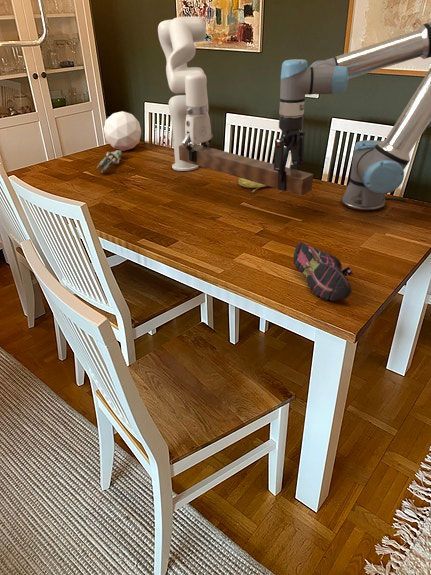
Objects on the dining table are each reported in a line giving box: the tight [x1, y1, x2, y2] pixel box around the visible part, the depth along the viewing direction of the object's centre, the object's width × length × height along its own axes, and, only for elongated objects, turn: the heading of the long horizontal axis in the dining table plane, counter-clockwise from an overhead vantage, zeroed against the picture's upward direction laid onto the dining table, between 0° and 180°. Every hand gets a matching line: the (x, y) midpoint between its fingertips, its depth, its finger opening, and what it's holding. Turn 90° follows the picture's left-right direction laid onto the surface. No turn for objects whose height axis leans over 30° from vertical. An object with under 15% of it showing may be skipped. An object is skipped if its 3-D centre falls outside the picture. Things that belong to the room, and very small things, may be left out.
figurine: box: [96, 149, 123, 174], centre depth 213 cm, size 7×8×30 cm
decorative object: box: [237, 177, 268, 193], centre depth 186 cm, size 21×2×20 cm
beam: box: [179, 144, 314, 197], centre depth 160 cm, size 57×6×6 cm, turn 48°
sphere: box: [103, 110, 142, 152], centre depth 233 cm, size 19×20×20 cm
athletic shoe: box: [292, 242, 355, 301], centre depth 117 cm, size 11×22×12 cm
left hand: (198, 158), depth 173 cm, fingers closed on beam, 6 cm apart
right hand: (287, 186), depth 150 cm, fingers closed on beam, 6 cm apart
